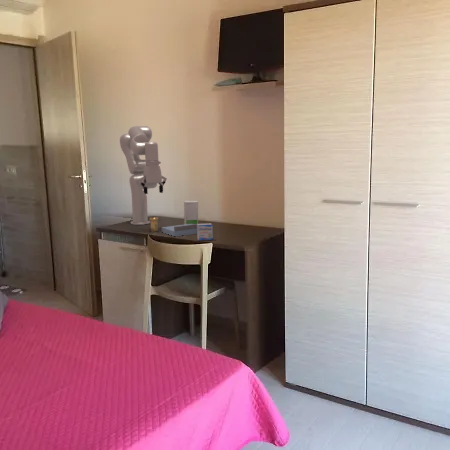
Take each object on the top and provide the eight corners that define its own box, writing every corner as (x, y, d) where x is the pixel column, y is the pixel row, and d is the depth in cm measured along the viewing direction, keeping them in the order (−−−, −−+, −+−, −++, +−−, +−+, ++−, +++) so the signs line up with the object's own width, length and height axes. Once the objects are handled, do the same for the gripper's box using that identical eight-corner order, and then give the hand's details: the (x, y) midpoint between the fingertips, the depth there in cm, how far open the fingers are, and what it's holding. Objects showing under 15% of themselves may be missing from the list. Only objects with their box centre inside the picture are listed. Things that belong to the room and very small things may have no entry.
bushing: (148, 231, 308) (147, 217, 306) (156, 230, 311) (156, 216, 309) (152, 232, 304) (151, 218, 302) (160, 231, 306) (159, 218, 305)
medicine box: (198, 241, 278) (198, 225, 276) (197, 239, 282) (196, 223, 281) (213, 240, 280) (212, 224, 278) (211, 238, 284) (210, 222, 282)
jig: (161, 232, 303) (161, 223, 302) (191, 228, 314) (191, 219, 313) (174, 236, 290) (173, 227, 289) (205, 232, 300) (205, 223, 299)
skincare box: (185, 227, 318) (184, 202, 316) (184, 225, 325) (183, 200, 322) (198, 226, 320) (198, 201, 317) (197, 224, 326) (196, 200, 324)
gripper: (162, 163, 308) (164, 191, 311) (135, 164, 299) (137, 193, 302) (168, 163, 302) (169, 192, 305) (140, 164, 293) (142, 194, 295)
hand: (153, 193), depth 303 cm, fingers open, 9 cm apart
